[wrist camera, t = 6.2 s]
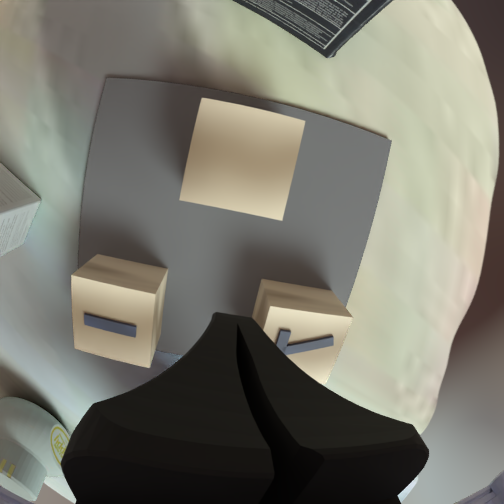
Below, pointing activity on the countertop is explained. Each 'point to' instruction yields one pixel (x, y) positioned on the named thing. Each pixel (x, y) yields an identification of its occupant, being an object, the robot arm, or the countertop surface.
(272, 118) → the plain block
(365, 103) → the countertop surface
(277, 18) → the small box
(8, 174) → the skincare box
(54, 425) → the air freshener
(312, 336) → the marked block
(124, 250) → the mat
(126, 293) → the marked block
